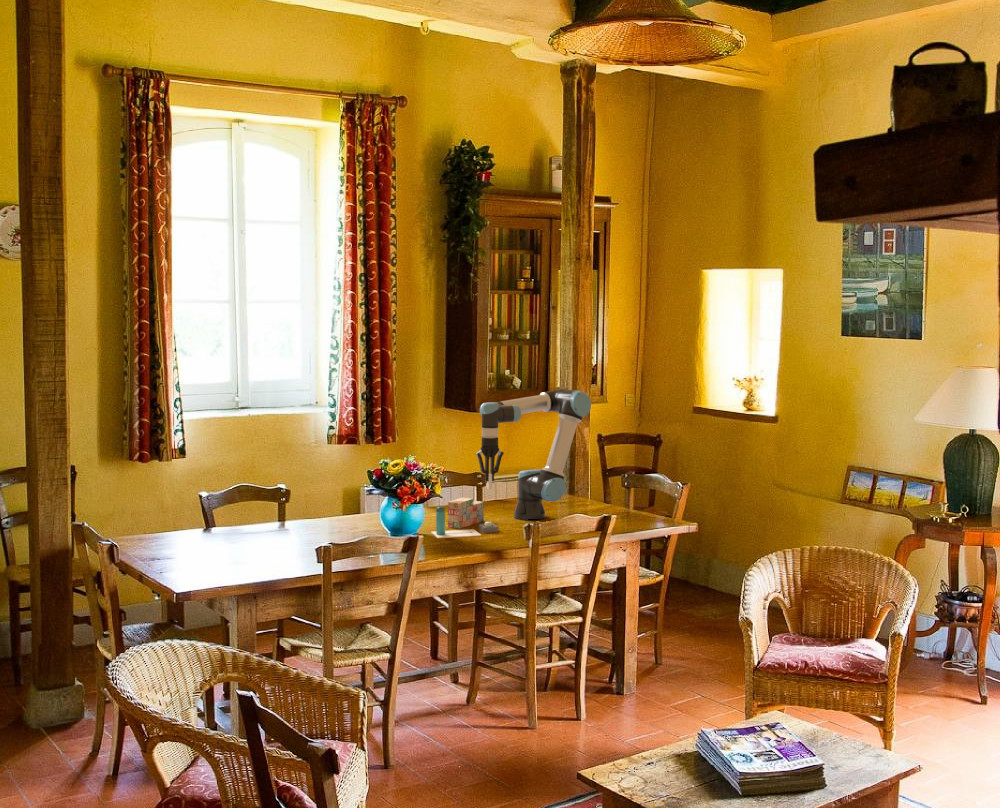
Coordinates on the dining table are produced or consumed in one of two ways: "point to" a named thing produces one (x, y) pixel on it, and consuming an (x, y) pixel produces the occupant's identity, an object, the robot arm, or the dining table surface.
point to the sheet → (457, 533)
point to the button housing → (488, 528)
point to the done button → (488, 524)
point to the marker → (440, 520)
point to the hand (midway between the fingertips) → (489, 488)
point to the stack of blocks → (464, 512)
